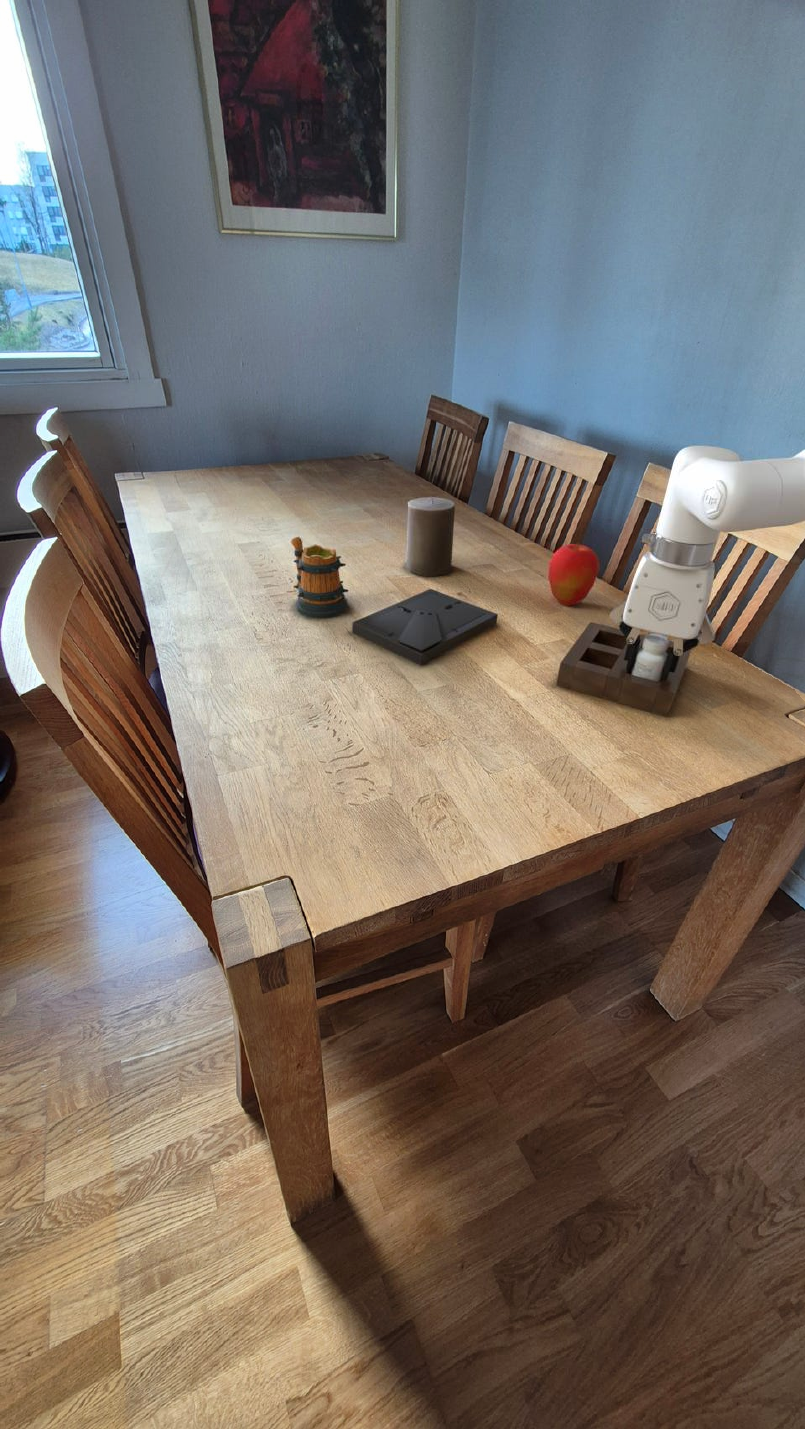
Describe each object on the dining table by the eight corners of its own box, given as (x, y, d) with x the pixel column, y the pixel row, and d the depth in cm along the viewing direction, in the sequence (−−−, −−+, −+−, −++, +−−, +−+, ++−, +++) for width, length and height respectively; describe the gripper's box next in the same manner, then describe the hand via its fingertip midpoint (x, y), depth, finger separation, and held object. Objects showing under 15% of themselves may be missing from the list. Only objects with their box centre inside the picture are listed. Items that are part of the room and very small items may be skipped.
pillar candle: (452, 577, 130) (457, 504, 122) (405, 575, 130) (407, 502, 122) (450, 560, 138) (455, 491, 130) (406, 559, 138) (408, 489, 130)
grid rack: (685, 668, 101) (692, 646, 99) (666, 717, 89) (674, 693, 87) (585, 642, 108) (590, 621, 105) (556, 685, 96) (560, 662, 93)
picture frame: (420, 665, 100) (496, 624, 112) (421, 650, 98) (498, 610, 111) (352, 633, 108) (429, 598, 121) (352, 618, 107) (430, 585, 119)
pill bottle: (650, 676, 96) (663, 630, 91) (664, 691, 92) (679, 645, 88) (623, 678, 95) (635, 632, 91) (636, 693, 91) (649, 646, 87)
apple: (596, 613, 118) (609, 551, 111) (548, 611, 118) (559, 549, 111) (585, 593, 125) (597, 534, 118) (540, 591, 125) (549, 532, 118)
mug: (360, 608, 117) (359, 548, 110) (316, 624, 111) (312, 561, 104) (318, 587, 124) (315, 529, 118) (275, 600, 118) (269, 541, 112)
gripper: (610, 545, 82) (584, 665, 93) (750, 571, 76) (705, 698, 86) (623, 530, 88) (597, 645, 98) (755, 553, 81) (712, 674, 92)
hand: (648, 668), depth 92 cm, fingers closed on pill bottle, 4 cm apart
